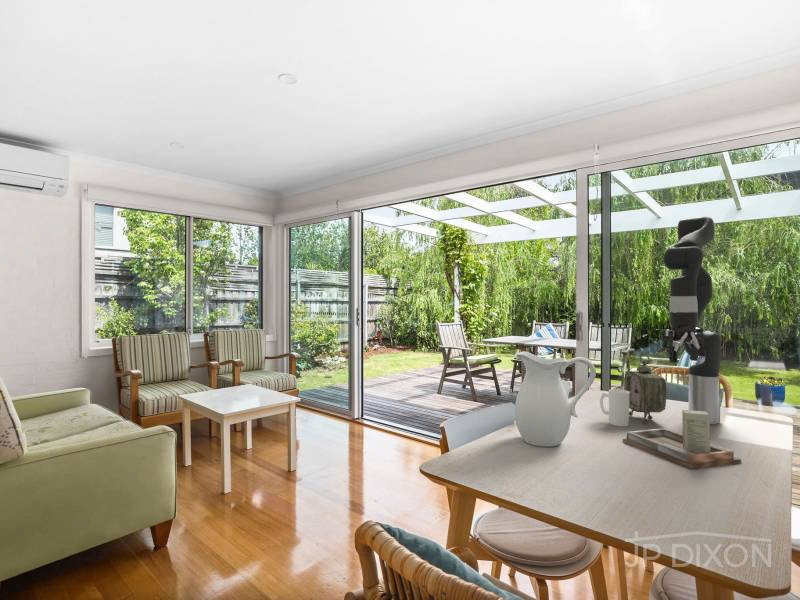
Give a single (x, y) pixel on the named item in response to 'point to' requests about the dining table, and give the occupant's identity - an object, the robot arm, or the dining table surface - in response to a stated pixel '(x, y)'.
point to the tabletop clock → (645, 390)
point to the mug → (617, 407)
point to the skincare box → (696, 431)
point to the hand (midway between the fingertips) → (683, 361)
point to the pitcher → (546, 400)
